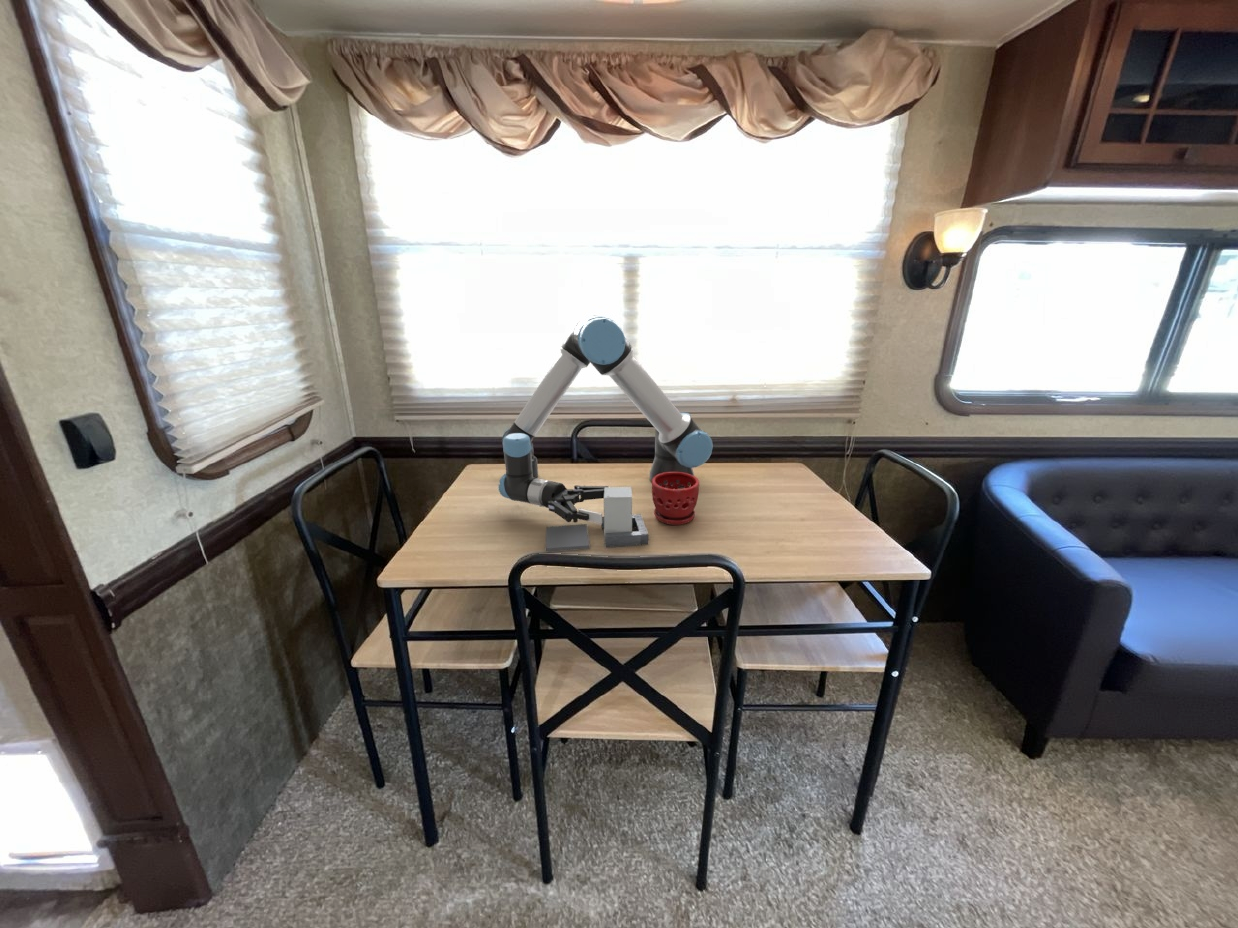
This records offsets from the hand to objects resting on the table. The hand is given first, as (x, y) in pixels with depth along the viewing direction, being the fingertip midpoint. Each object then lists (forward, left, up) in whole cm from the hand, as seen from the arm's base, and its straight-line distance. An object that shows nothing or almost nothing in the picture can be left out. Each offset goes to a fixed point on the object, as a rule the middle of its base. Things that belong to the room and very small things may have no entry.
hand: (614, 508), depth 128 cm
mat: (+13, 0, -8) cm, 15 cm away
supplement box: (-1, 0, -8) cm, 8 cm away
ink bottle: (+26, -48, -8) cm, 55 cm away
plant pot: (-18, -8, -8) cm, 21 cm away
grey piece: (-2, 0, -8) cm, 8 cm away
